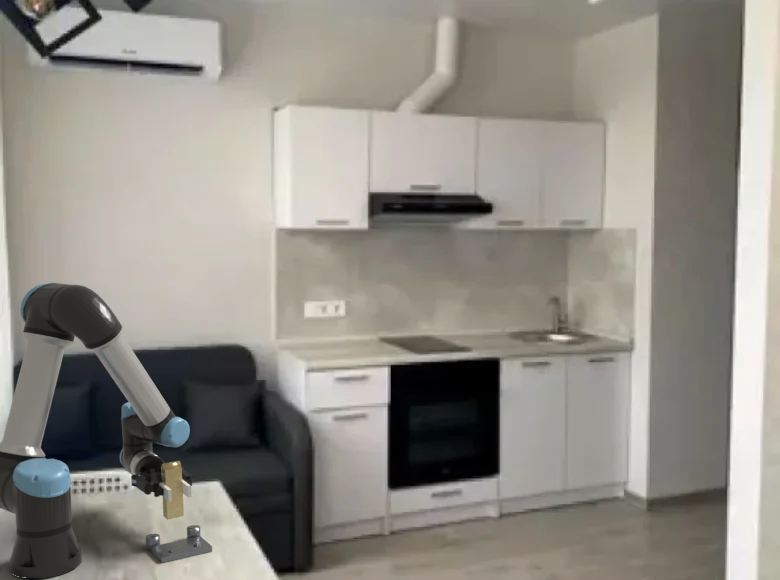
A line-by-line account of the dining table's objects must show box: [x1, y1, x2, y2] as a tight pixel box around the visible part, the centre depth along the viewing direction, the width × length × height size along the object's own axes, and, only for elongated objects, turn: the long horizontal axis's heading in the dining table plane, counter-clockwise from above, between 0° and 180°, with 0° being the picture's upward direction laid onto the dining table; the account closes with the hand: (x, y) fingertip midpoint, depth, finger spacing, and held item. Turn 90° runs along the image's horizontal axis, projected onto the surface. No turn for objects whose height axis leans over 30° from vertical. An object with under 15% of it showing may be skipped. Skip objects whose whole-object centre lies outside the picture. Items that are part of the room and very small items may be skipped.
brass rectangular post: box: [161, 460, 185, 521], centre depth 203 cm, size 4×3×13 cm
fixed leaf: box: [145, 524, 213, 564], centre depth 200 cm, size 13×11×3 cm
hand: (179, 493), depth 199 cm, fingers closed on brass rectangular post, 4 cm apart
